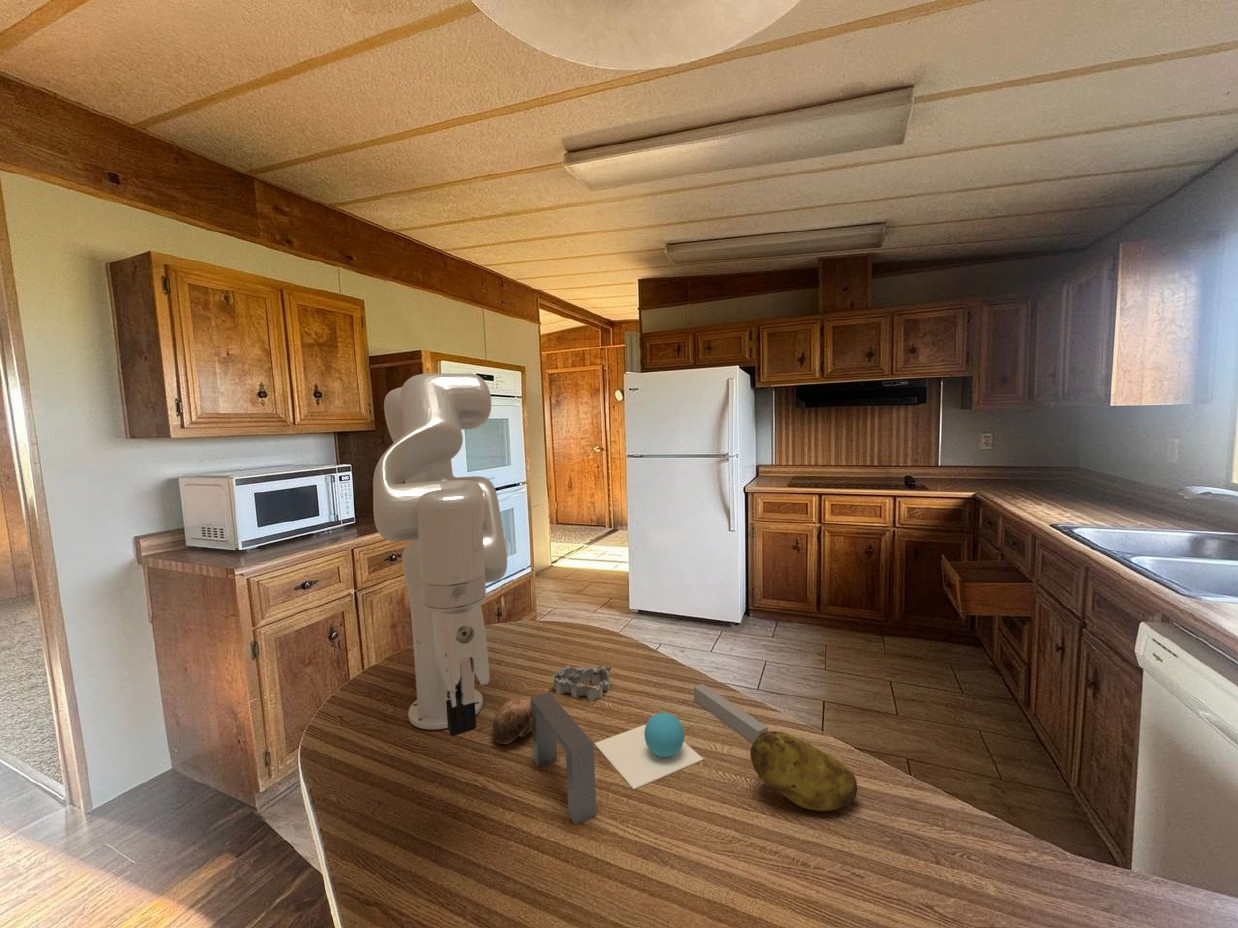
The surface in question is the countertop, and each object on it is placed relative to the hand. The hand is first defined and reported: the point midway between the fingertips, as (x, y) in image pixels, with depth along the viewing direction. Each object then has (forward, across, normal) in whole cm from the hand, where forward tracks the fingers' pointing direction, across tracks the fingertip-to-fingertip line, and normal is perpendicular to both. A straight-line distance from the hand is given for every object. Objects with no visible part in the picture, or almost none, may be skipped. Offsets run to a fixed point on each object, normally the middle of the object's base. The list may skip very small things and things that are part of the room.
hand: (462, 729), depth 67 cm
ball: (+9, -3, -29) cm, 30 cm away
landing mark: (+12, -1, -27) cm, 30 cm away
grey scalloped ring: (+13, +22, -26) cm, 37 cm away
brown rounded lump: (+13, +14, -11) cm, 22 cm away
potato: (+12, -20, -39) cm, 45 cm away
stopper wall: (+12, -1, -43) cm, 45 cm away
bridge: (+12, -1, -13) cm, 18 cm away
